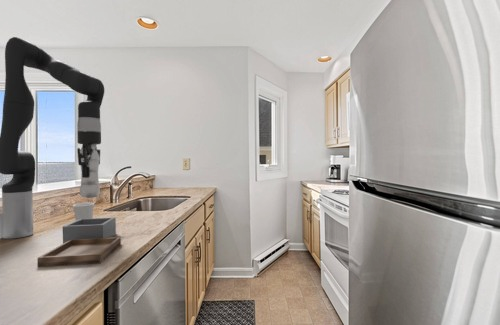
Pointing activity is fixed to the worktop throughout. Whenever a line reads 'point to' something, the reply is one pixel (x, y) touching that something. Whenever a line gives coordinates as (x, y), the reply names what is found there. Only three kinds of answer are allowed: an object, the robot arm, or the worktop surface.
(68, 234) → the holder
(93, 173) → the plastic bottle
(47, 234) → the worktop surface
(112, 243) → the tray
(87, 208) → the dixie cup
